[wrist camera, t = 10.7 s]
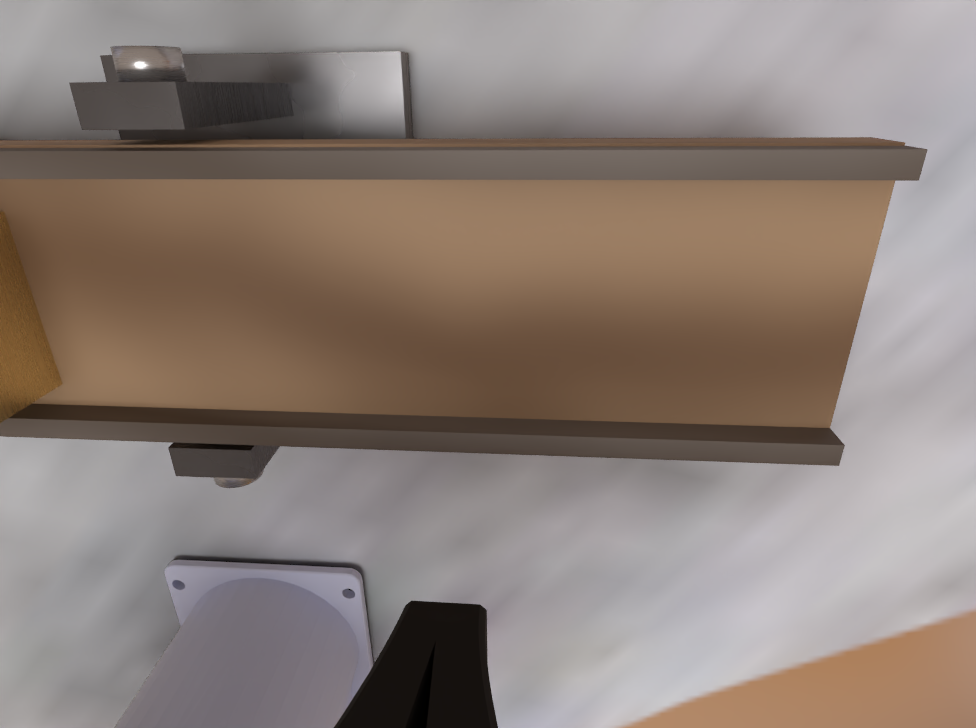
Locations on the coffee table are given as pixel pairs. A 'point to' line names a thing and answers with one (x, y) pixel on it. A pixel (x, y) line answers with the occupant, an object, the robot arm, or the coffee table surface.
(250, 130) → the grey metal bracket
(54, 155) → the beam
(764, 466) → the coffee table surface
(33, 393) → the rider
